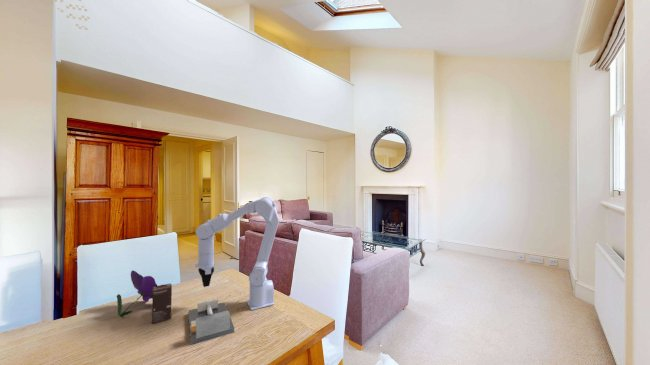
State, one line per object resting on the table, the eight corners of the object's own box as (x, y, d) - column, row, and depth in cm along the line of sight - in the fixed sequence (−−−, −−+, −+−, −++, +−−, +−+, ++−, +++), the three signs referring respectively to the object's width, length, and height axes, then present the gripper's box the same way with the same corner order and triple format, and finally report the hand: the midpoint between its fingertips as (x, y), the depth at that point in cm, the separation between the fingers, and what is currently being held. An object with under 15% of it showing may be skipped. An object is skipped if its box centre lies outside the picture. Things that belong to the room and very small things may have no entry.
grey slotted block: (197, 310, 96) (197, 302, 96) (217, 305, 99) (217, 297, 99) (199, 321, 88) (199, 312, 88) (220, 315, 92) (220, 307, 92)
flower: (142, 331, 94) (171, 299, 105) (122, 305, 87) (155, 274, 98) (115, 323, 98) (145, 294, 109) (93, 298, 91) (128, 269, 102)
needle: (190, 329, 84) (190, 321, 84) (215, 322, 88) (215, 315, 88) (190, 331, 83) (190, 323, 83) (215, 324, 87) (215, 317, 87)
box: (152, 324, 89) (152, 291, 89) (152, 318, 93) (152, 286, 93) (171, 319, 93) (172, 287, 92) (171, 313, 96) (171, 282, 96)
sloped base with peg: (188, 314, 96) (188, 297, 96) (224, 305, 103) (224, 290, 103) (190, 344, 79) (191, 324, 79) (234, 332, 86) (234, 313, 86)
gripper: (194, 249, 107) (194, 281, 107) (196, 259, 94) (196, 295, 95) (212, 247, 110) (212, 278, 111) (216, 256, 98) (216, 291, 98)
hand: (206, 285), depth 103 cm, fingers closed
